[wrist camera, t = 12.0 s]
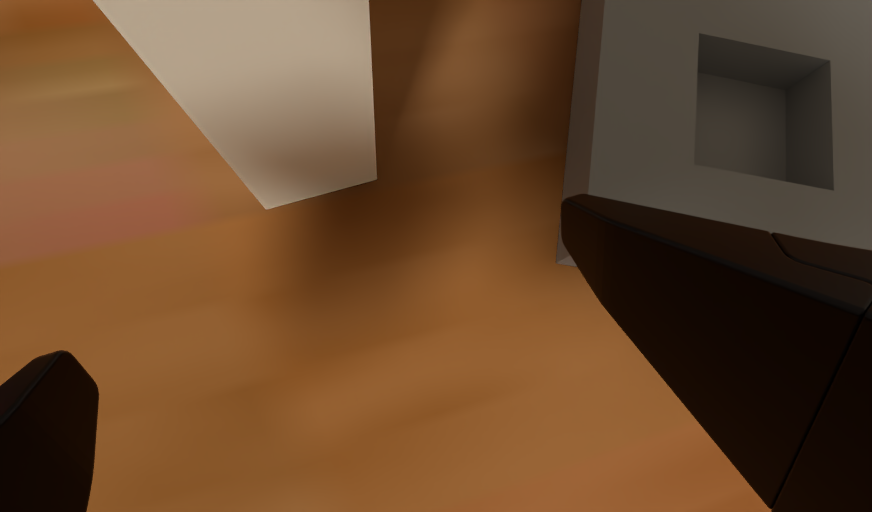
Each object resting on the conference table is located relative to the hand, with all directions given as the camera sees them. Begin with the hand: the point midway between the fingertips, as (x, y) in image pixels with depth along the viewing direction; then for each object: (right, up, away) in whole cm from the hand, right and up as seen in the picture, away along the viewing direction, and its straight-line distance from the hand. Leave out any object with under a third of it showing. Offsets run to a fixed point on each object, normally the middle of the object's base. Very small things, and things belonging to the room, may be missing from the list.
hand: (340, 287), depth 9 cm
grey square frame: (+13, +5, +10) cm, 17 cm away
